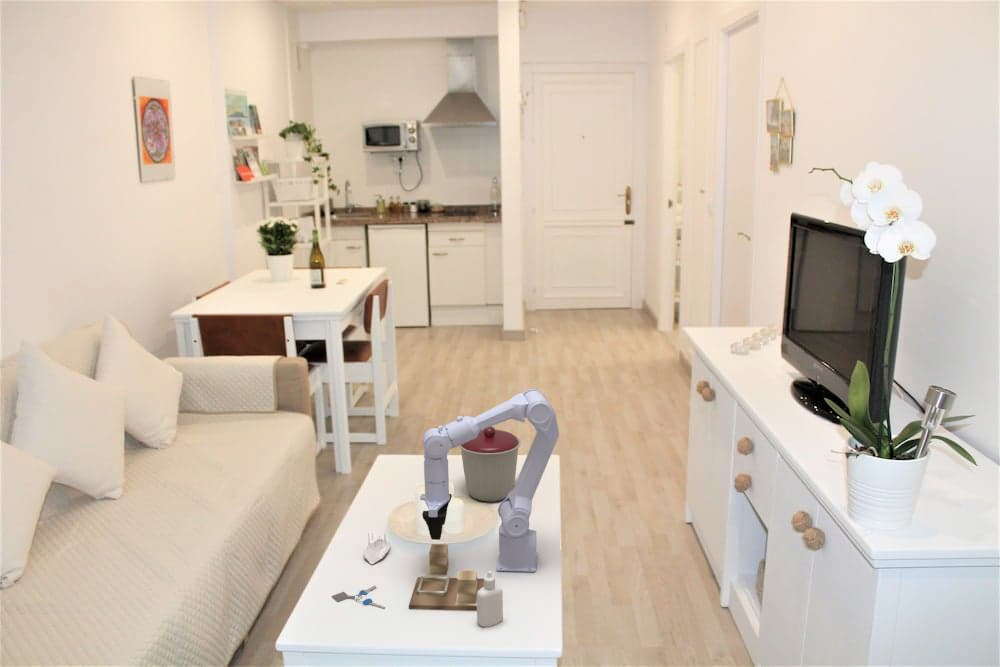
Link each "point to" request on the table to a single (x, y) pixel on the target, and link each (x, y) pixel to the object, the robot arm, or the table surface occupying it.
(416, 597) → the board
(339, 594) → the key chain
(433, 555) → the maple peg
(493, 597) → the eye dropper bottle
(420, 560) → the table surface
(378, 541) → the pincushion
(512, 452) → the canister
